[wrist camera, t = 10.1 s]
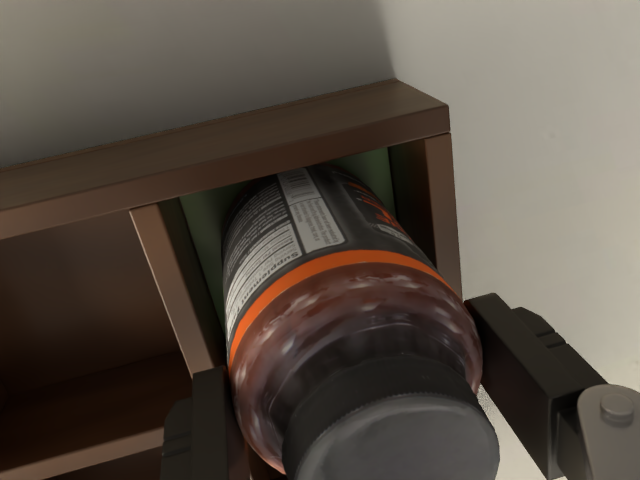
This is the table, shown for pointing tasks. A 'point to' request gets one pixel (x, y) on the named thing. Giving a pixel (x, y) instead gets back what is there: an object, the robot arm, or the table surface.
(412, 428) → the supplement bottle
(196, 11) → the table surface
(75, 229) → the box
